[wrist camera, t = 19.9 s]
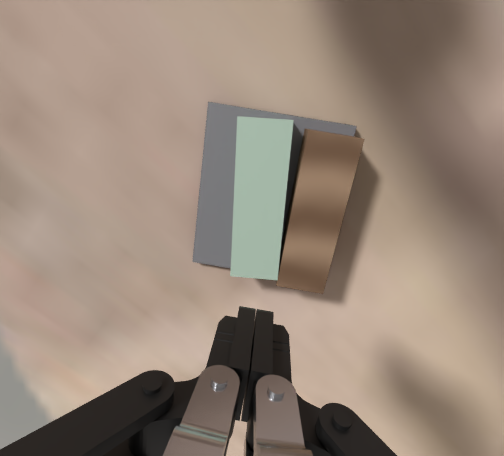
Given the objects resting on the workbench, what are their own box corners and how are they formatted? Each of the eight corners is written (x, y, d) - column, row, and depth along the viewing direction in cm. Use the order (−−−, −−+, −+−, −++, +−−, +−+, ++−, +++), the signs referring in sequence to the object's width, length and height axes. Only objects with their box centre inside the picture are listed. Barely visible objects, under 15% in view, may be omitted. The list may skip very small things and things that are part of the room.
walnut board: (304, 128, 32) (308, 129, 28) (353, 136, 32) (364, 139, 28) (276, 268, 37) (276, 285, 33) (318, 275, 37) (323, 293, 33)
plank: (242, 116, 32) (237, 116, 28) (291, 119, 31) (293, 120, 28) (235, 259, 37) (230, 276, 33) (277, 263, 37) (277, 280, 33)
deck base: (210, 102, 32) (208, 101, 31) (354, 125, 32) (356, 126, 31) (194, 258, 39) (192, 261, 38) (315, 279, 38) (316, 283, 37)
